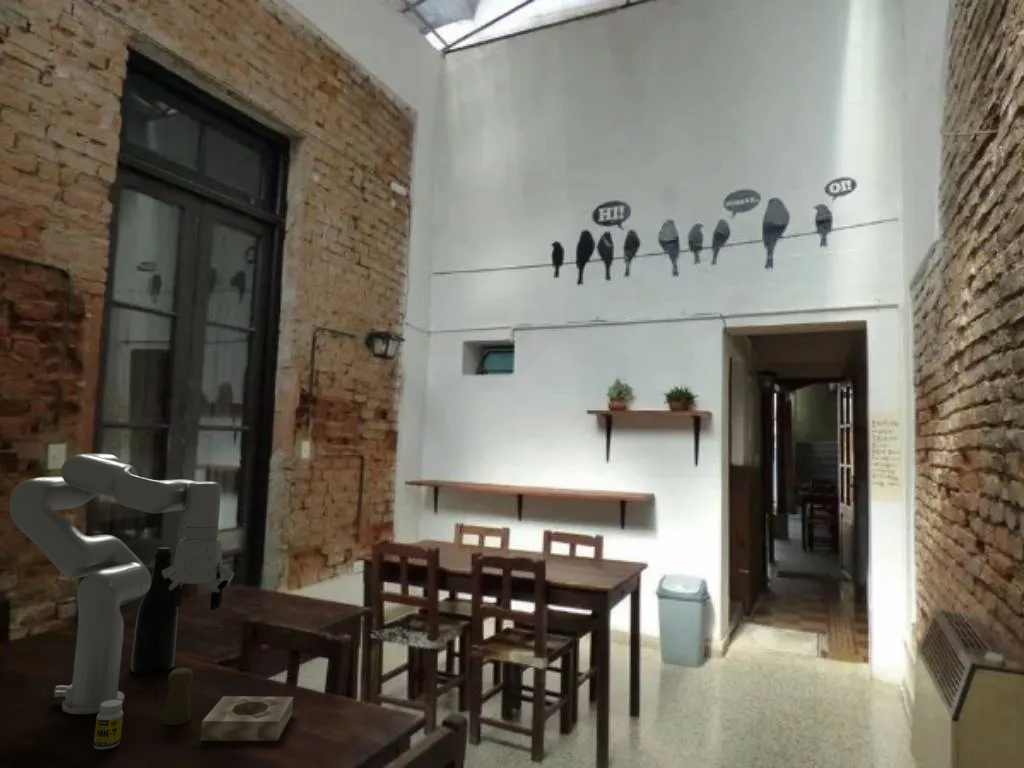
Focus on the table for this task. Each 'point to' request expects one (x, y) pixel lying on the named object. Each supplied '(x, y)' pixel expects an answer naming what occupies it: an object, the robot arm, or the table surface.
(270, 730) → the jig
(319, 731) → the table surface
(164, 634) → the wine bottle
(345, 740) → the table surface
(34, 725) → the table surface
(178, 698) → the cork
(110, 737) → the supplement bottle
